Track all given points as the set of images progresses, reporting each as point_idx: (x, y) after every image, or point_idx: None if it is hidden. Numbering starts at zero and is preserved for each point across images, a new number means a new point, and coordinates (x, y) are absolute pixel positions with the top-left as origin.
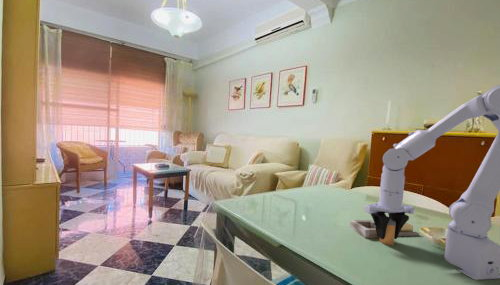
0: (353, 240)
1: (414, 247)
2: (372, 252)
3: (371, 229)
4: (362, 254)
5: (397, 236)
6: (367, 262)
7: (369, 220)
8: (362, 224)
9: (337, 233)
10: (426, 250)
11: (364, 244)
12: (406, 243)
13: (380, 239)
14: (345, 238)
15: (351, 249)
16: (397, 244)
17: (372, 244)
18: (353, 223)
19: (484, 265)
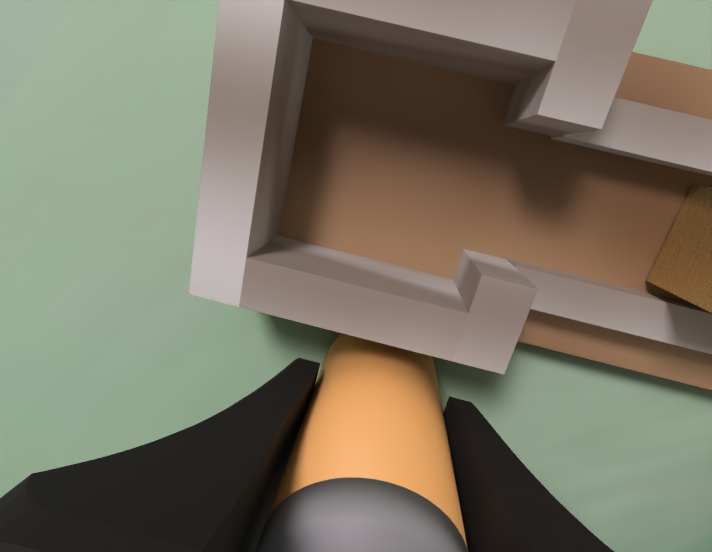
0: (140, 219)
1: (590, 474)
2: (152, 409)
3: (277, 307)
4: (58, 402)
5: None
6: (28, 470)
7: (611, 7)
8: (411, 42)
9: (71, 31)
10: (629, 530)
11: (187, 306)
12: (610, 413)
13: (319, 373)
14: (87, 162)
15: (21, 330)
16: (496, 397)
17: (260, 327)
18: (229, 17)
19: None
